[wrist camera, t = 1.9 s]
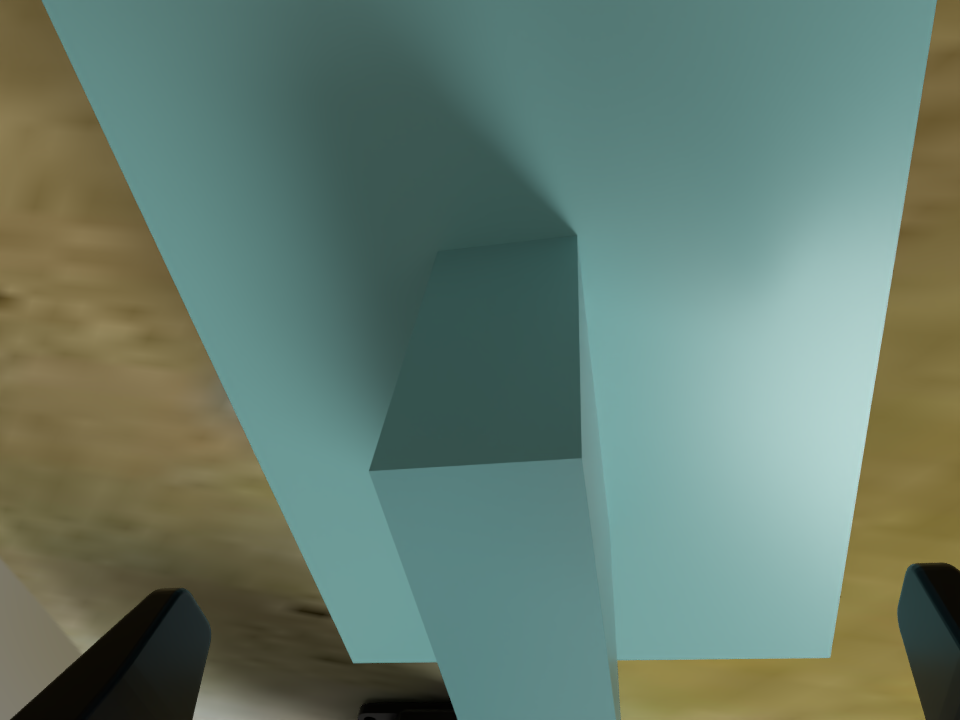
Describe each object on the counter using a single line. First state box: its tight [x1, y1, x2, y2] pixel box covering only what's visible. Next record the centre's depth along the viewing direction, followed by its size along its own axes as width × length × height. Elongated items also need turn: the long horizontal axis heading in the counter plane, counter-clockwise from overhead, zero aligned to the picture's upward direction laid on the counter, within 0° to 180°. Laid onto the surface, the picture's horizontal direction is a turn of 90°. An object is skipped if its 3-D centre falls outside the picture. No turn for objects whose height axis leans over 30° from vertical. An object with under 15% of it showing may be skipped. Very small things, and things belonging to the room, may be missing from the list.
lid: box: [42, 0, 937, 720], centre depth 11 cm, size 14×10×7 cm
